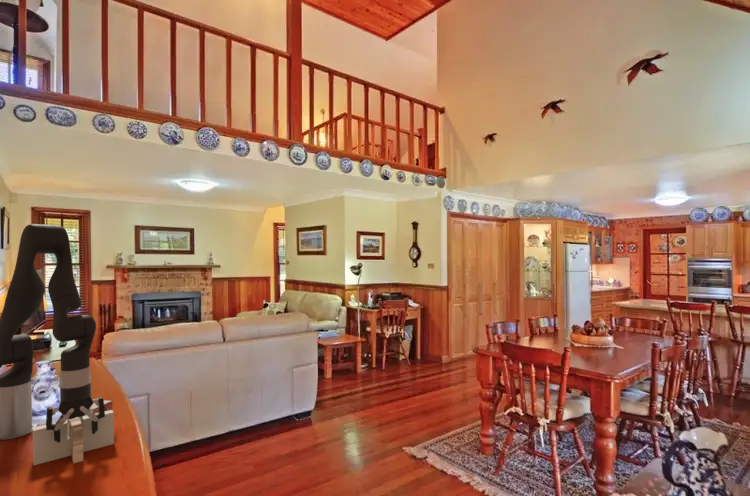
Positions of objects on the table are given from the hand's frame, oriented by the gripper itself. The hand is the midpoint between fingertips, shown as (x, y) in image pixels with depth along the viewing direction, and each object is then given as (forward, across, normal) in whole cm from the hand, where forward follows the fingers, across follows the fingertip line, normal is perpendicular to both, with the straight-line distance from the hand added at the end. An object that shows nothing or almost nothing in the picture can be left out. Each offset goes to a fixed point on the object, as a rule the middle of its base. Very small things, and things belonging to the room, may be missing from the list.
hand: (76, 437), depth 127 cm
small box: (+6, +7, +13) cm, 16 cm away
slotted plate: (+6, 0, +4) cm, 7 cm away
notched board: (+6, 0, +4) cm, 7 cm away
